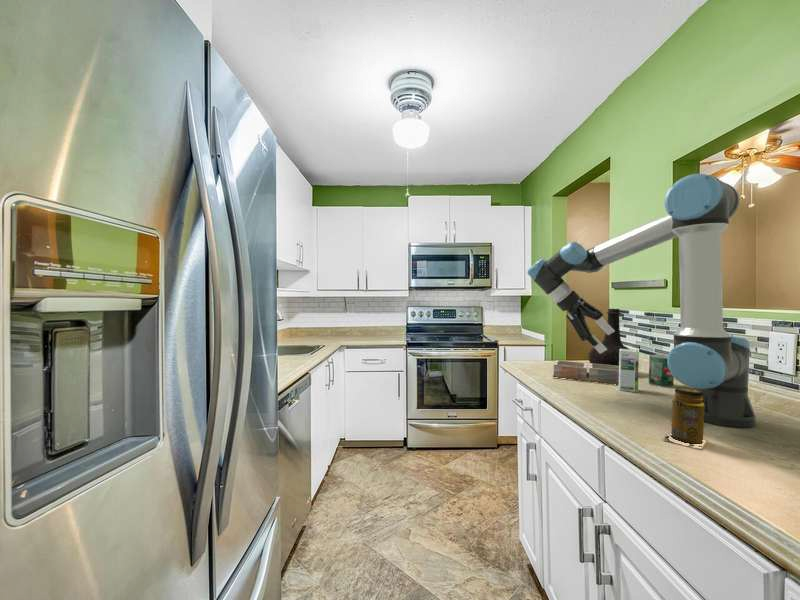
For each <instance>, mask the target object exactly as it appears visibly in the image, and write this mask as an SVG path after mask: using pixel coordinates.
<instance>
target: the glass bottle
mask: <svg viewBox="0 0 800 600" xmlns="http://www.w3.org/2000/svg"><path fill="white" fill-rule="evenodd" d="M606 314H607V321H606V322H607V323H608V324H609V325H610V326H611V327H612V328H613V329H614V330H615V332H613V333H611V334H609V335H607V334H606V333H605V332H604V333H605V334H604V336H603V340H602V341H601V343H602V344H603V345H604V346H605V347H606V348H607V350H606V351H604V352H603V353H601V354H600V353H599V352H598V351H597V350H596V349H595V348H594V347H593V346H592V348H590V351H589V352H588V361H589V364H590V363H593V364H604V365H615V366H619V351H620V349H630V348H628V347H627V346H625V345H624V344H623V343H622V340H621V331H620V315H622V313H621V312H620V309H619V308H608V309H607V312H606Z"/></svg>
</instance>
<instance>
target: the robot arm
mask: <svg viewBox="0 0 800 600" xmlns="http://www.w3.org/2000/svg"><path fill="white" fill-rule="evenodd" d="M663 202H664V209H665V211H666V212H667V213H666V214H664V215H661V216H660V217H657V218H655V219H653V220H651V221H648V222H646V223H643V224H642V225H640V226H636V227H635V228H632V229H631V230H628V231H626V232H623V233H622V234H619V235H617V236H616V237H612V238H611V239H609V240H607V241H604V242H602V243H600V244H596V245H595V246H593V247H591V248H588V249H586V248H585V247H584V246H583V245H582V244H581V243H578V242H577V241H570V242H569V243H567V244H566V245H564V246H563V247H561V249H560V250H558V251H557V252H556V253H555V254H553V255H552V256H551V257H550V258H549V259H548V260H546V259H544V258H540V259H538V261H536V262H535V263H534V264H533V265H532V266H530V267H529V268H528V270H527V275H529V277H530V278H531V280H533V282H534V283H536V285H537V286H538V287H540V288H541V290H542V291H543V292H544V293H545V294H546V295H547V296H548V298H549V299H551V300H552V301H553V302H554V303H556V306H557V307H558V308H559V309H560V310H561V311H562V312H566V311H567V312H568V314H567V315H565V317H566V319H568V321H569V322H570V323H571V325H572V327H573V329H574V330H575V332H576V334H577V335H578V336H579V338H580V340H581V341H582V342H583V341H587V342H588V343H589V344H590V345H591V346H592V348H593V347H594V348H595V349H596V350H597V351H598V352H599V353H600V354H601V353H603V352H604V351H606V350H607V348H606V347H605V346H604V345H603V344H602V341H600V340H599V339H598V337H597V336H595V334H592V333H591V331H590V329H589V326H588V324H587V322H586V317H587V318H590V319H592V320H594V322H595V323H596V325H598V326H599V328H601V330H603V332H604V333H606V334H607V335H609V334H611V333H613V332H615V330H614V329H613V328H612V327H611V326H610V325H609V324H608V323H607V321H606V320H605V319H604V318H603V316H604V314H603V313H602V312H601V310H599V309H598V308H596V306H593V305H592V304H590V303H589V302H587V301H586V300H585V299H584V298H582V297H581V296H580V295H579V294H578V293H577V291H575V290H572V289H573V288H572V287H571V286H570V285H569V284H568V283H567V281H566V280H565V279H563V277H564V276H565V275H567V274H568V273H569V272H571V271H572V272H584V273H589V274H592V273H597V272H599V271H601V270H602V269H603V268H604V267H605V266H607V265H609V264H612V263H615V262H618V261H621V260H623V259H625V258H627V257H631V256H633V255H635V254H638V253H640V252H641V253H642V252H643V251H645V250H648V249H652V248H653V247H655V246H658V245H660V244H663V243H666V242H668V241H670V240H673V239H676V238H678V253H679V255H678V257H679V258H678V259H679V260H678V261H679V300H680V301H679V304H680V305H679V306H680V307H679V309H680V312H679V314H680V317H679V318H680V327H679V329H678V330H676V331H675V332H673V348H672V349H671V350H670V351H669V353H668V355H667V356H668V358H667V364H668V368H669V371H670V372H671V374H672V375H673V377H674V378H675V380H676V381H678V382H679V383H681V384H682V385H684V386H686V387H687V388H692V389H697V390H700V391H702V392H703V401H702V402H703V403H704V406H705V408H704V423H705V422H706V423H708V424H709V423H710V424H714V425H718V426H725V427H731V428H732V427H733V428H753V427H755V426H756V423H757V421H756V420H757V418H756V416H757V415H756V414H755V411H754V408H753V406H752V403H751V400H750V397H749V375H750V374H749V373H750V369H749V368H750V353H751V348H750V342H749V340H748V339H747V338H745V337H739V336H732V335H731V334H730V333H729V332H727V331H726V330H725V329H724V320H723V317H724V311H723V275H722V274H723V273H722V271H723V269H722V268H723V265H722V260H723V259H722V233H723V232H724V231H725V230H726V229H728V228H729V225H730V223H729V221H730V219H731V218H733V216H734V215H735V213H736V212H737V211H738V208H739V205H740V196H739V193H738V191H737V190H736V188H734V187H733V186H732V185H730V184H728V183H727V182H724V181H722V180H720V178H718V177H717V176H715V175H712V174H711V175H710V174H705V173H693V174H689V175H686V176H684V177H681V178H680V179H679V180H677V181H676V182H674V184H672V185H671V186H670V187H669V189H668V190H667V192H666V194H665V197H664V201H663Z"/></svg>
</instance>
